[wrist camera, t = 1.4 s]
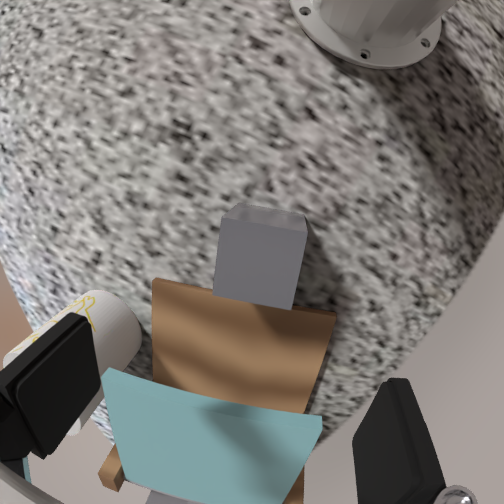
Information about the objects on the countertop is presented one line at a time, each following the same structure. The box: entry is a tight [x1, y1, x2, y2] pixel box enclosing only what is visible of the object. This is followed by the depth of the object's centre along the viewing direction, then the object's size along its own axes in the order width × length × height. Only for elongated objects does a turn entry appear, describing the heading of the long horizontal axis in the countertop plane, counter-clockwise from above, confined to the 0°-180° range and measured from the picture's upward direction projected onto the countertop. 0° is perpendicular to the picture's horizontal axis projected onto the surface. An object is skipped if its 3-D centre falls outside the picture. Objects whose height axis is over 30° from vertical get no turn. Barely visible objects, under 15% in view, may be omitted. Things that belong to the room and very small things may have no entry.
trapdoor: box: [101, 367, 322, 504], centre depth 18 cm, size 21×13×4 cm, turn 170°
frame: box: [98, 278, 337, 504], centre depth 22 cm, size 16×16×14 cm
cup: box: [3, 290, 142, 435], centre depth 23 cm, size 8×8×12 cm
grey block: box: [212, 203, 308, 310], centre depth 21 cm, size 5×5×6 cm
